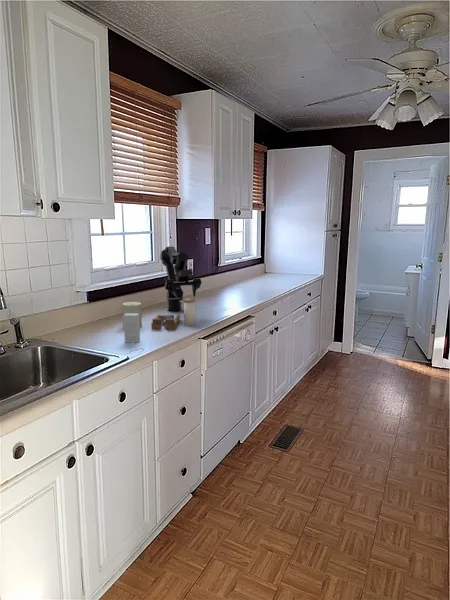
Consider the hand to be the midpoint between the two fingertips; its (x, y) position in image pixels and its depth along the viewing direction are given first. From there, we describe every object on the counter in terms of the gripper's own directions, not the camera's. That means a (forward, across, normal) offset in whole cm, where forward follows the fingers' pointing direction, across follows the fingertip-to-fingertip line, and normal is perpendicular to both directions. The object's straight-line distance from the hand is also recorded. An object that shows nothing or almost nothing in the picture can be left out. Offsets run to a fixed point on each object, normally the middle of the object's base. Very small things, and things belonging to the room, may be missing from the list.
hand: (186, 297), depth 215 cm
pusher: (+14, -12, +4) cm, 19 cm away
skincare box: (+28, -31, -10) cm, 43 cm away
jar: (+14, 0, +4) cm, 15 cm away
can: (+11, -28, +8) cm, 31 cm away
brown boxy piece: (+12, -11, +7) cm, 17 cm away
